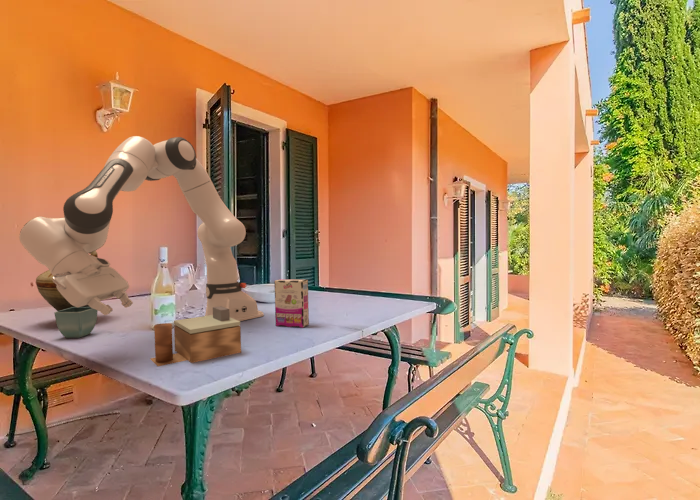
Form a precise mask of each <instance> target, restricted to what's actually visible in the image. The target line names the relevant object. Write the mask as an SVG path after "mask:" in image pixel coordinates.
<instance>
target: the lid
mask: <svg viewBox="0 0 700 500" xmlns="http://www.w3.org/2000/svg"><path fill="white" fill-rule="evenodd" d="M173 325H176V326H178V327H180V328H181V329H183V330H185V331H187V332H188V333H190V334H192V333H198V332H204V331H210V330H216V329H222V328H228V327H233V326H241V321H237V320H235V319H232V318H230V313H229V309H228V308H225V307H222V306H218V307H213V315H209V316H205V315H204V316H198V317H197V316H195V317H190V318H183V319H175V320H173Z"/></svg>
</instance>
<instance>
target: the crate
mask: <svg viewBox="0 0 700 500" xmlns="http://www.w3.org/2000/svg"><path fill="white" fill-rule="evenodd" d="M173 325H174V326H173V330H174V331H173V333H174V351H175V353H173V360H171V361H169V362H164V363H157V362H156V360H155V357H151V358H149V360H150V361H151V362H152V363H153V364H154V365H156V367H161V366H162V367H163V366H167V365H172V364H176V363H180V362H186V361H187V362H189V363H191V364H194V363H198V362H203V361H208V360H212V359H217V358H222V357H227V356H232V355H236V354H241V353H242V338H241V337H242V333H241V331H242V330H241V325H239V326H233V327H228V328H222V329H216V330H210V331H204V332H198V333H192V334H190V333H188V332H187V331H185V330H183V329H181V328H180V327H178V326H176V325H175V324H173Z"/></svg>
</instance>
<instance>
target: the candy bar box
mask: <svg viewBox="0 0 700 500" xmlns="http://www.w3.org/2000/svg"><path fill="white" fill-rule="evenodd" d="M273 283H274V307H275V308H274V309H275V310H274V311H275V312H274V313H275V326H276V327H284V328H286V327H287V328H300V329H301V328H302V329H303V328H305V327H308V326H309V325H310V317H309V314H310V313H309V279H287V278H286V279H284V278H283V279H282V278H281V279H276V280H274V282H273Z"/></svg>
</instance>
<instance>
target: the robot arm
mask: <svg viewBox="0 0 700 500" xmlns="http://www.w3.org/2000/svg"><path fill="white" fill-rule="evenodd" d="M172 176H173V177H174V178H175V179H176V181H177V184H178V186H179V188H180V190H181V193H182V194H183V196H184V197H185V200H186V202H187V204H188V205H189V207H190V209H191V211H192V212H193V213H194V214H196V215H197V217H198V218H199V219H200V220H201V221H202V223H201V224H200V225H199V226H198V228H197V231H196V232H197V237H198V239H199V241H200V244H201V246H202V249H203V254H204V259H205V264H206V281H207V282H206V283H205V284H206V285H205V294H206V295H205V296H206V306H205V308H206V309H205V314H204V316H209V315H213V307H218V306H222V307H225V308H228V309H229V313H230V318H232V319H235V320H237V321H240V322H243V321H246V320H251V319H256V318H261V317H264V316H265V314H264V312H263V311H261V310H259V309H258V308H259V307H258V303H257V301H256V299H255V298H253V297H252V296H250V295H249V294H247V293H246V292H244V291H243V289H246V288H247V282H239V281H238V268H237V267H238V264H237V263H238V262H237V260H236V258H235V257H234V255H233V252H232V249H231V248H232V247H236V246H237V245H239V244H241V243H242V242H243V241H244V240H245V239H246V238H245V237H246V234H247V232H246V231H247V230H246V227H245V225H244V224H243V222H241V221H240V220H239V219H238V218H236V217H235V215H234V214H233V213H232V212H231V210H230V209H229V208H228V207H227V206H226V204H225V203H224V201H223V200H222V198H221V196H220V195H219V193H218V191H217V188H216V187H215V185H214V183H213V181H212V179H211V178H210V175H209V174H208V172H207V171H206V169H205V167H204V166H203V164H202V163H201V162H200V160H199V159H198V158H197V154H196V150H195V148H194V146H193V144H191V142H190V141H189V140H187V139H186V138H184V137H181V136H175V137H170V138H168V139H167V140H163V141H160V142H156V143H154V144H153V143H152V142H151V141H150V140H149V139H146V138H145V137H143V136H139V135H133V136H130V137H127V138H126V139H124V141H122V142H121V143H120V144H119V145H117V147H116V148H115V149H114V150H113V152H112V153H111V154H110V155H109V157H108V158H107V160H106V161H105V164H104V166H103V168H102V169H101V170H100V171H99V173H98V174H97V175H96V176H95V178H94V179H93V180H92V181H91V182H90V183H89V184H88V185H87V186H86V187H85V188H83V189H81V190H80V191H77V192H75V193H74V194H72V195H70V196H69V197H68V198H67V199H66V200H65V202H64V203H63V209H62V210H63V217H61V218H60V217H57V218H56V217H54V218H53V217H44V216H41V215H40V216H37V217H34V218H32V219H30V220H29V221H27V222H26V223H25V224H24V225H23V227H22V228H21V229H20V233H19V236H18V238H19V242H20V244H21V245H22V246H23V248H24V249H25V250H26V251H27V252H28V253H29V255H31V257H33V258H34V259H35V260H36V261H37V262H38V263H40V264H41V265H42V266H45V267H46V268H47V269H48V270H50V272H51V274H52V275H53V282H54V283H55V284H56V285H57V286H56V287H57V289H58V291H59V292H60V293H61V295H62V296H63V297H64V298H65V299H66V300H67V301H68V302H69V303H70V304H71V305H73V306H75V307H81V306H85V305H89V306H90V307H91V308H93V309H96V310H98V311H97V312H100V313H101V314H102V315H103V316H107V315H110V314H112V313H111V312H113V308H112V307H111V306H110V305H109V304H106V303H104V302H102V301H105V300H108V299H112V298H116V299H119V300H120V302H121V303H120V304H121V305H122V306H123V307H124V308H126V309H127V308H130V307H131V306H132V305H133V303H134V302H133V300H131V299H130V298H129V296H128V293H127V290H128V289H130V285H129V283H128V281H127V280H126V279H125V278H124V277H123V276H122V275H121V273H119V272H118V271H117V270H116V269H114V267H111V263H110V262H109V261H108V260H107V259H105V258H101V257H98V258H97V257H94V256H92V255H91V254H89V253H91V252H93V251H95V250H96V251H97V250H99V249H101V248H102V247H103V246H104V245H105V244H106V242H107V239H108V234H109V229H110V225H111V221H112V218H113V217H112V216H113V215H114V214H113V213H114V212H113V211H114V207H113V206H114V201H115V199H116V197H117V196H118V195H119V194H120V192H135V191H136V190H138V189H139V187H141V186H142V184H144V182H145V181H150V182H154V181H155V182H156V181H159V180H161V179H164V178H168V177H172Z"/></svg>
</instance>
